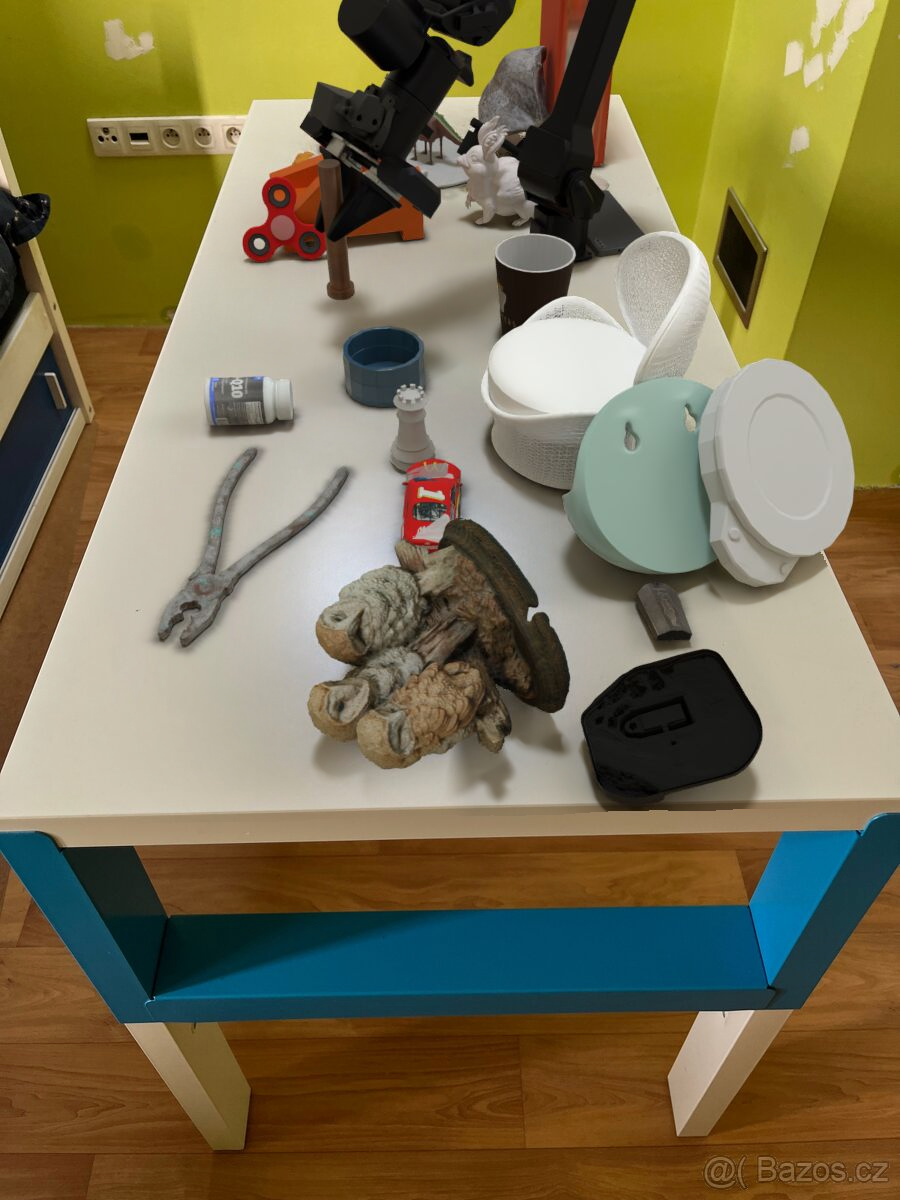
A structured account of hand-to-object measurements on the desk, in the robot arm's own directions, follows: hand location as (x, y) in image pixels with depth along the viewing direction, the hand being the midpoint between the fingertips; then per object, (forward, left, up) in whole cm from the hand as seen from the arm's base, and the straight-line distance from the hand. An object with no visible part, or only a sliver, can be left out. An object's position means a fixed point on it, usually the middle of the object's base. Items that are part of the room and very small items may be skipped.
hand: (323, 235), depth 102 cm
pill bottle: (+17, +8, -10) cm, 21 cm away
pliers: (+11, +17, -13) cm, 24 cm away
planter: (-13, +46, -14) cm, 50 cm away
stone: (-44, -24, -11) cm, 52 cm away
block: (-8, +51, -13) cm, 54 cm away
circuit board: (-43, -41, -12) cm, 60 cm away
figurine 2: (-33, -19, -13) cm, 40 cm away
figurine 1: (-23, -40, -10) cm, 47 cm away
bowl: (-2, +9, -13) cm, 16 cm away
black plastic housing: (0, +62, -9) cm, 63 cm away
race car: (+3, +31, -13) cm, 34 cm away
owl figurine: (+5, +50, -7) cm, 50 cm away
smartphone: (-44, -18, -12) cm, 49 cm away
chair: (-15, +27, -13) cm, 34 cm away
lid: (-22, +45, -7) cm, 51 cm away
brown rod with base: (-1, 0, -7) cm, 7 cm away
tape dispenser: (-13, -27, -13) cm, 32 cm away
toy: (-3, -23, -8) cm, 24 cm away
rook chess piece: (+1, +23, -13) cm, 26 cm away
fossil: (-40, -38, -3) cm, 55 cm away
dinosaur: (-31, -40, -13) cm, 52 cm away
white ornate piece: (-31, -28, -15) cm, 45 cm away
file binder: (-52, -36, -13) cm, 65 cm away
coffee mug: (-21, +7, -13) cm, 26 cm away
